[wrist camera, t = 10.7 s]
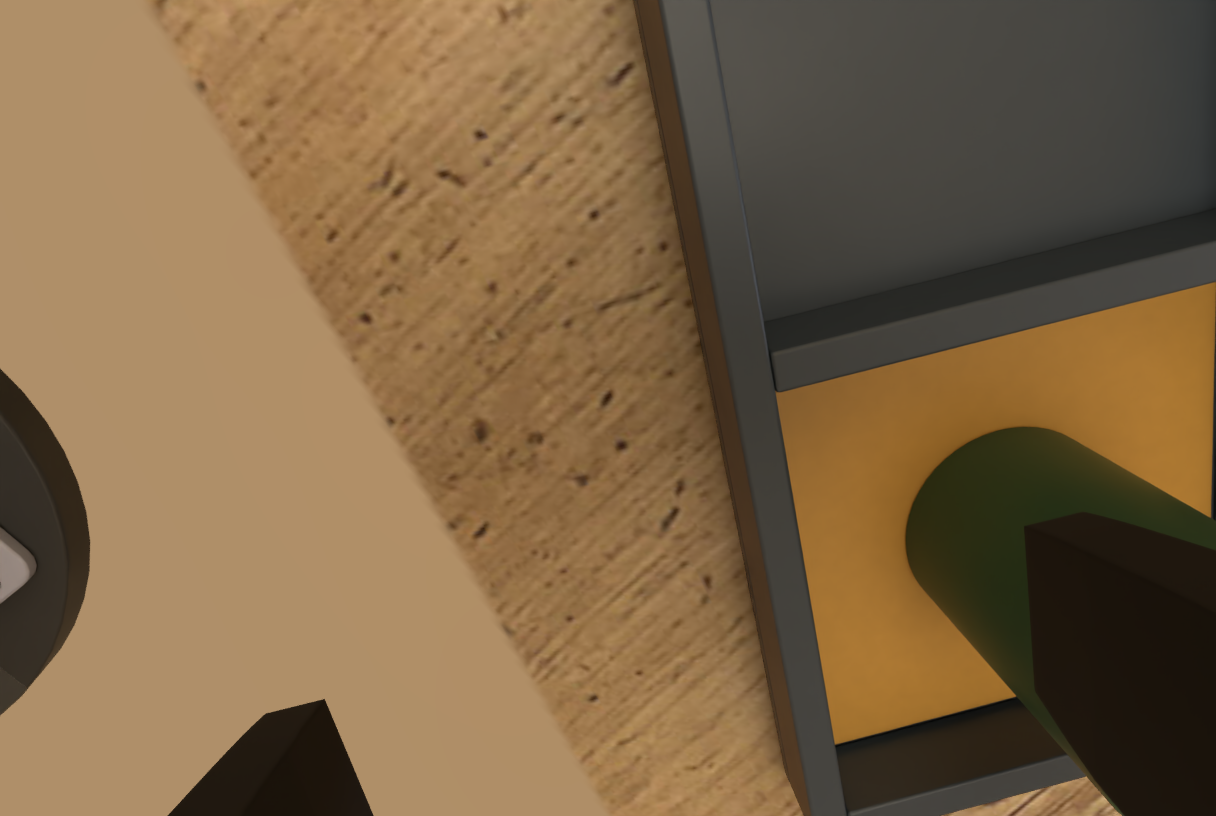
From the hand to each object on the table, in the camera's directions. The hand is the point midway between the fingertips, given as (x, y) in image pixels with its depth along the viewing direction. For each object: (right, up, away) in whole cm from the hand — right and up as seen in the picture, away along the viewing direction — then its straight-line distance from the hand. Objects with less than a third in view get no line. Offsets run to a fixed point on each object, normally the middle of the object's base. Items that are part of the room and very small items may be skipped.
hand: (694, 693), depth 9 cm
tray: (+7, +5, +9) cm, 12 cm away
